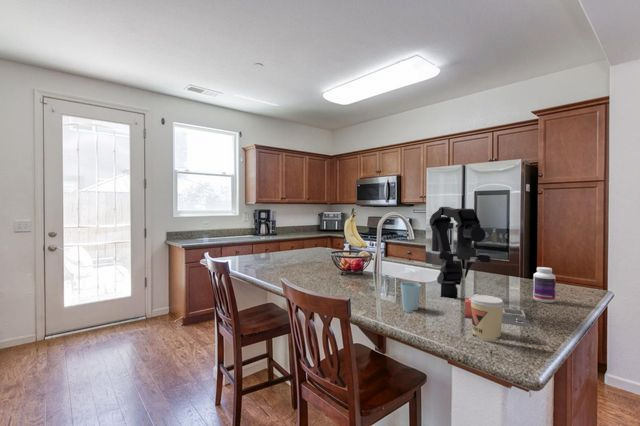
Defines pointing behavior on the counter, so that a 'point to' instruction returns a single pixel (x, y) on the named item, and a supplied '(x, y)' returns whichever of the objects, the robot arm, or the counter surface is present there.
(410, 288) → the cup
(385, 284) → the counter surface
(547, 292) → the pill bottle
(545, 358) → the counter surface
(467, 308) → the red block with knob
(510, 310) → the panel
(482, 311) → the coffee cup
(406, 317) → the counter surface
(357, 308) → the counter surface
